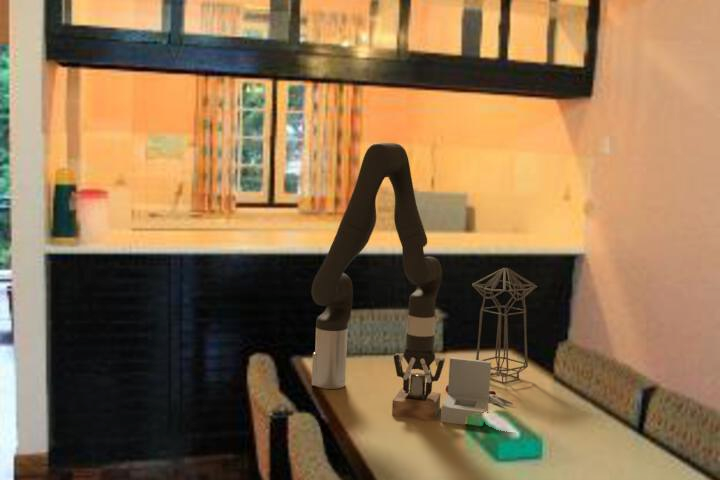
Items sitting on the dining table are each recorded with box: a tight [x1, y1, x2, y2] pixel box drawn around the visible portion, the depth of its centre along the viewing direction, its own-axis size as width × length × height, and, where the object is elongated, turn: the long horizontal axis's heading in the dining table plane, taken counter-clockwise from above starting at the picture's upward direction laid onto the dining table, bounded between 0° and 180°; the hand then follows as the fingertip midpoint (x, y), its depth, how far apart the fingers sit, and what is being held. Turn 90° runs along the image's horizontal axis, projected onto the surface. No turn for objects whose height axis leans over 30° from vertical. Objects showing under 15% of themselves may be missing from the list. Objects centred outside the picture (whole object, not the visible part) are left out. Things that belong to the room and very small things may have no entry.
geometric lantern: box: [471, 267, 538, 384], centre depth 239 cm, size 16×16×35 cm
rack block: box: [440, 356, 492, 426], centre depth 203 cm, size 11×12×14 cm
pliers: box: [445, 385, 514, 407], centre depth 221 cm, size 12×20×3 cm, turn 39°
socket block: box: [391, 387, 441, 421], centre depth 207 cm, size 11×11×4 cm
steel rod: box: [409, 372, 427, 401], centre depth 206 cm, size 4×4×10 cm
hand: (417, 393), depth 206 cm, fingers open, 5 cm apart
